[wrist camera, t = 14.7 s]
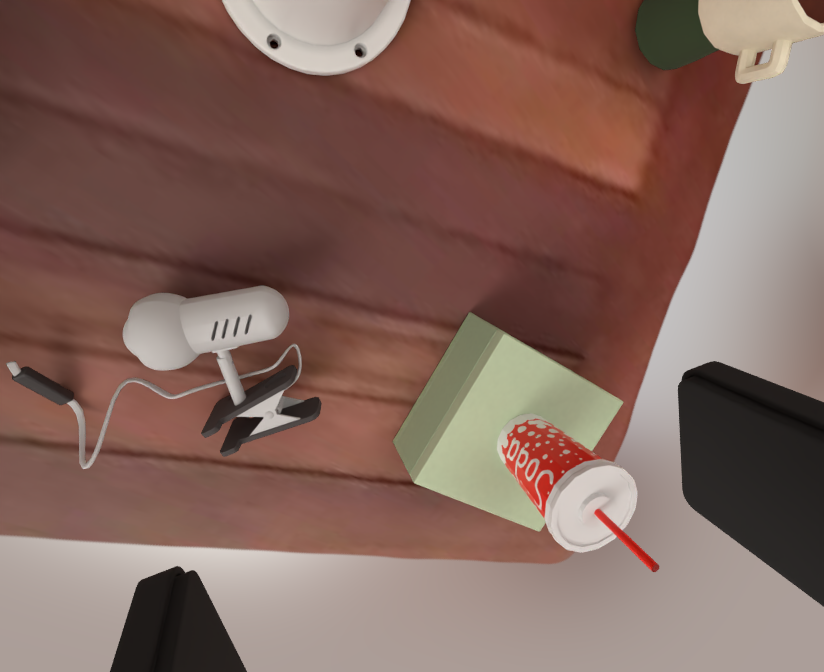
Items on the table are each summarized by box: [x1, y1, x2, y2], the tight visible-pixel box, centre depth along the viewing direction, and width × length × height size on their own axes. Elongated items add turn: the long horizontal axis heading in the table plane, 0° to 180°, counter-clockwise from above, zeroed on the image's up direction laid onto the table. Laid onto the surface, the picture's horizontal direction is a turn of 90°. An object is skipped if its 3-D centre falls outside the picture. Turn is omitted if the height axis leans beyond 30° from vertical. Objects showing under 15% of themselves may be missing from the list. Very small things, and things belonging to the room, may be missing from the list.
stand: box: [393, 312, 623, 531], centre depth 42 cm, size 13×13×7 cm
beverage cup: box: [497, 413, 659, 572], centre depth 32 cm, size 6×6×14 cm
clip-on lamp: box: [6, 285, 321, 469], centre depth 34 cm, size 12×6×18 cm
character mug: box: [635, 0, 824, 84], centre depth 33 cm, size 11×7×13 cm, turn 176°
